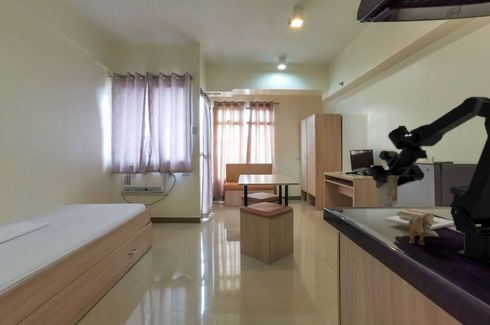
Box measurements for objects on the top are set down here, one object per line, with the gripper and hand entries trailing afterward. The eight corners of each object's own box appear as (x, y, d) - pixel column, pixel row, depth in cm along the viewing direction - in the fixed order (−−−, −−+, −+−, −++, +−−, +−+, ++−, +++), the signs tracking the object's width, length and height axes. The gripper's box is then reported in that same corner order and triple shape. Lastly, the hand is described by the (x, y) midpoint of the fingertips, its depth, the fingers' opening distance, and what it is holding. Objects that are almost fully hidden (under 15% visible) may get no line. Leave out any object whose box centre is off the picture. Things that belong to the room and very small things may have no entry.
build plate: (428, 230, 89) (428, 228, 89) (385, 219, 104) (385, 217, 104) (457, 223, 97) (457, 221, 97) (413, 214, 111) (413, 213, 111)
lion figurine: (432, 250, 72) (433, 217, 71) (409, 247, 74) (409, 215, 74) (424, 235, 85) (425, 207, 84) (405, 232, 87) (405, 205, 87)
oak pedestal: (420, 223, 95) (420, 215, 95) (399, 218, 103) (399, 210, 102) (433, 220, 99) (433, 212, 99) (412, 216, 106) (412, 208, 106)
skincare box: (388, 206, 97) (388, 173, 97) (377, 204, 101) (377, 172, 101) (398, 204, 101) (398, 172, 100) (387, 202, 104) (387, 172, 104)
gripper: (418, 143, 97) (397, 171, 109) (371, 143, 95) (355, 171, 106) (436, 164, 90) (411, 192, 101) (385, 165, 87) (366, 194, 99)
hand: (385, 186), depth 102 cm, fingers closed on skincare box, 7 cm apart
